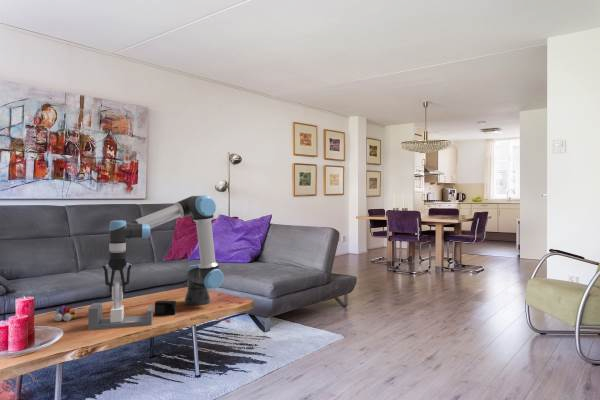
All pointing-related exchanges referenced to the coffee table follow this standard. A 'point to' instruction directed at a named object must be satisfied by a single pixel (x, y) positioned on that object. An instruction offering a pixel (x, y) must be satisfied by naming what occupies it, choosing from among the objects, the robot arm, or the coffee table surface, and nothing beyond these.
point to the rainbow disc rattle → (64, 314)
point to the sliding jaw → (117, 305)
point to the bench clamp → (99, 323)
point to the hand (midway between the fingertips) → (117, 299)
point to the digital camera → (165, 308)
